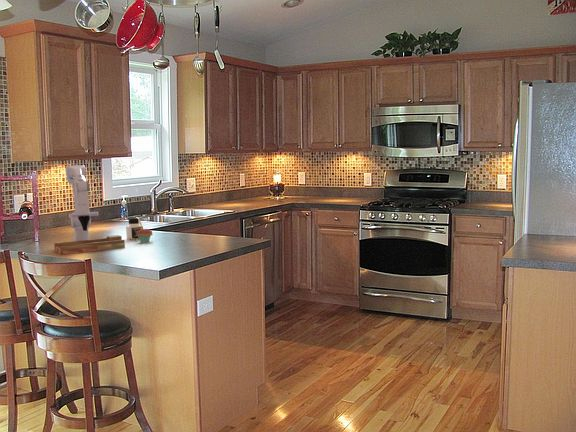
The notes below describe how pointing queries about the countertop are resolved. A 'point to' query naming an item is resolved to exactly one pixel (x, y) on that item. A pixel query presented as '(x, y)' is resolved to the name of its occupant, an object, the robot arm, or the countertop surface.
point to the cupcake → (144, 234)
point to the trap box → (87, 246)
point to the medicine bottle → (133, 228)
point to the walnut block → (114, 238)
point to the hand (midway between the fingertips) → (84, 230)
